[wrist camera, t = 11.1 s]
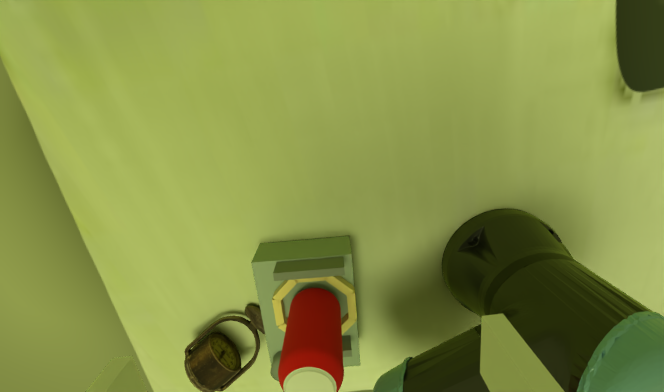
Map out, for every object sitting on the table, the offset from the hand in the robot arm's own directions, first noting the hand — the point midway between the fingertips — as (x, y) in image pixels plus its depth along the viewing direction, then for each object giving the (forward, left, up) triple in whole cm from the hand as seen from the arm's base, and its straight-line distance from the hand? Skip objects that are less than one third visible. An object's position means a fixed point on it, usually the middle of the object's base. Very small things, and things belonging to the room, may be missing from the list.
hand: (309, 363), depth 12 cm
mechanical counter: (+15, +23, -29) cm, 40 cm away
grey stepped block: (+3, +17, -29) cm, 33 cm away
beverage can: (+2, +15, -24) cm, 28 cm away
